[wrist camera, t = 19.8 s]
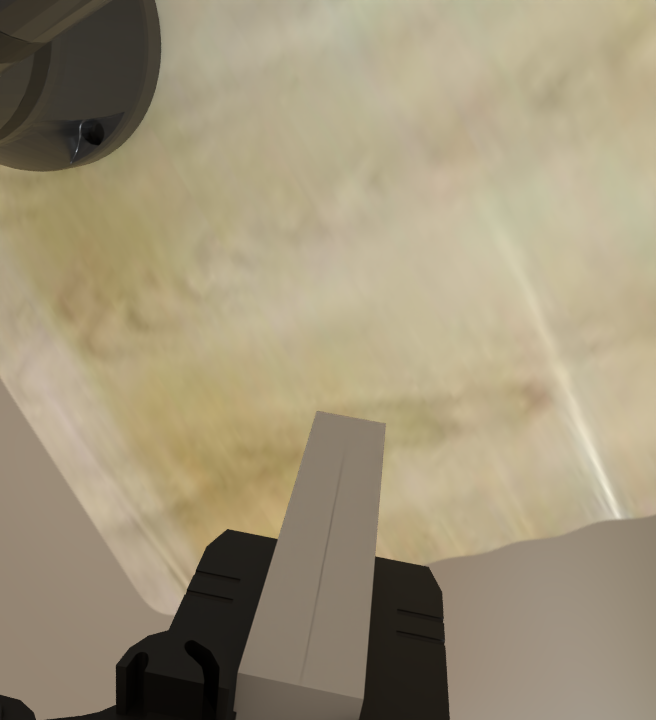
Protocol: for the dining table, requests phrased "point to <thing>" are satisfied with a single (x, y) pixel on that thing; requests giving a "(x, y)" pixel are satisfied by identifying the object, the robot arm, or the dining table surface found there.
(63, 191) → the dining table surface
